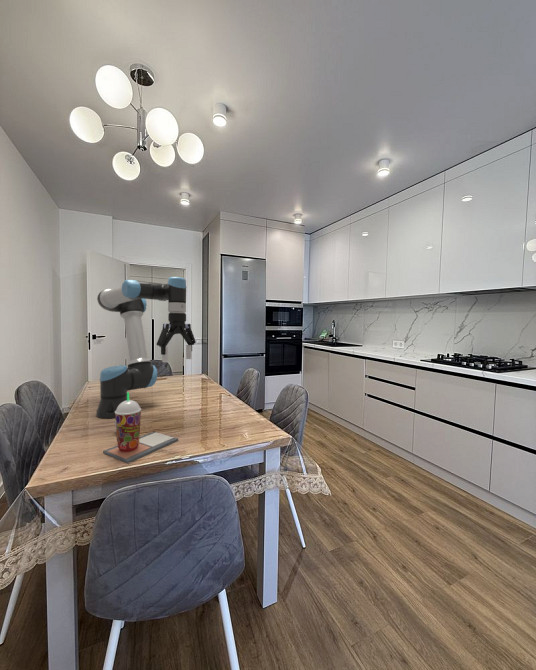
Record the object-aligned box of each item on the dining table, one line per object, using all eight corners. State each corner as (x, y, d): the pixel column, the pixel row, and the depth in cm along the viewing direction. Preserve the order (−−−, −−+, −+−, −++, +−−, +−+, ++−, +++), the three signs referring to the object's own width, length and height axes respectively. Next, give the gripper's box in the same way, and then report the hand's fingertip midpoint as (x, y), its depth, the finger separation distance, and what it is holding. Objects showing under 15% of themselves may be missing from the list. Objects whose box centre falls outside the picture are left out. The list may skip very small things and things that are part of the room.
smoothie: (124, 456, 95) (123, 396, 94) (110, 450, 99) (109, 393, 98) (146, 447, 102) (146, 391, 101) (132, 441, 106) (132, 388, 105)
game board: (103, 453, 99) (102, 450, 99) (154, 433, 117) (154, 430, 117) (128, 463, 92) (127, 460, 92) (178, 440, 110) (178, 438, 110)
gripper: (159, 311, 113) (159, 364, 114) (203, 313, 135) (203, 358, 136) (147, 311, 117) (147, 363, 118) (191, 313, 139) (191, 357, 140)
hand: (177, 360), depth 127 cm, fingers open, 13 cm apart
